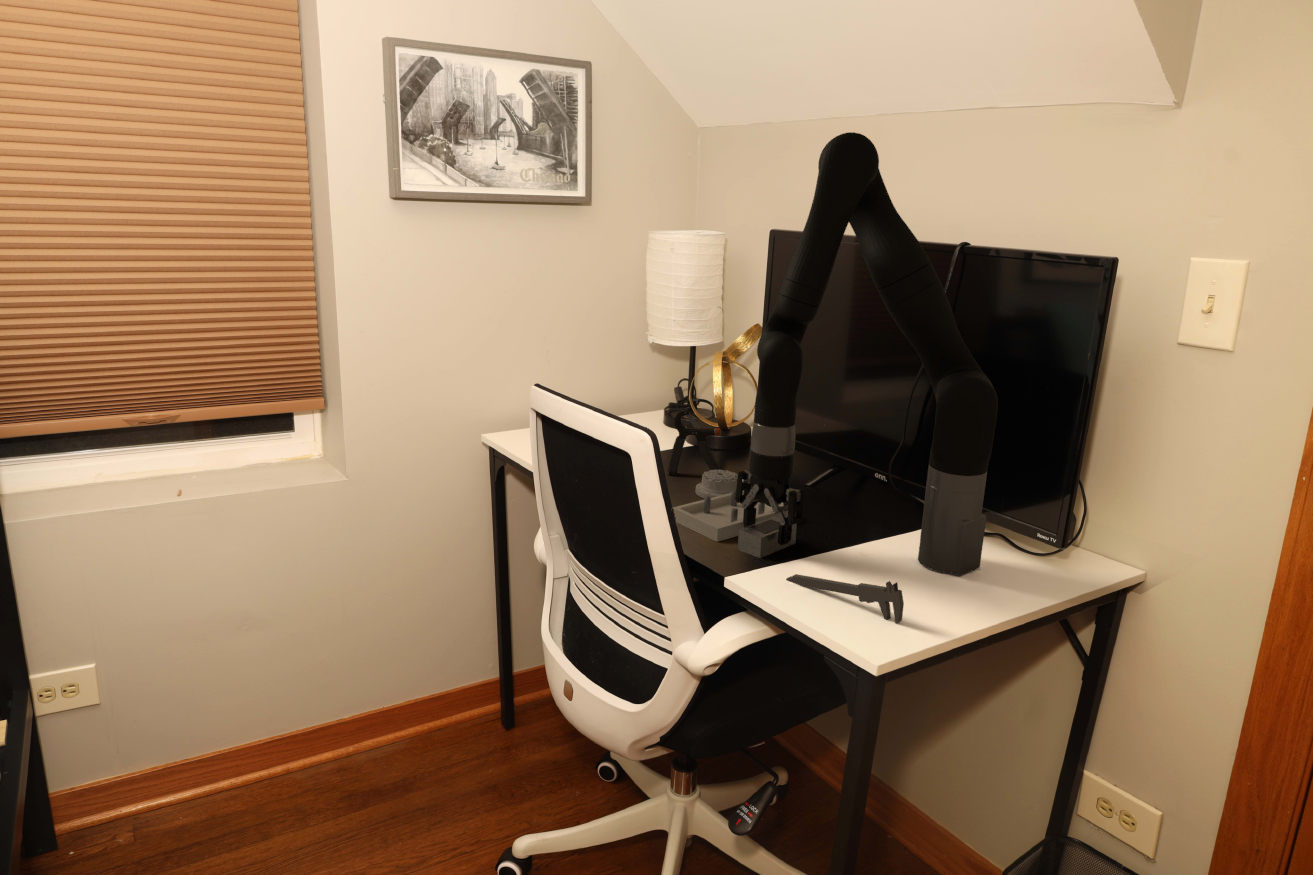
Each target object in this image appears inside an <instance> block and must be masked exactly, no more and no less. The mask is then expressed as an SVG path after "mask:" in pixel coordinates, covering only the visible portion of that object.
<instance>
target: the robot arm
mask: <svg viewBox="0 0 1313 875" xmlns="http://www.w3.org/2000/svg"><path fill="white" fill-rule="evenodd" d="M848 224H849V225H850V227H851V228H852V230H853V233H854V235H855V237H856V240H857V242H858V245H859V249H860V251H861V254H862V257H863V259H864V262H865V263H864V264H865V265H866V267H867V270H868V272H869V274H870V277H871V279H872V282H873V283H874V284H873V285H874V286H875V289H876V290H877V292H878V294H879V297H880V298H881V300H882V302H883V304H884V306H885V308H886V310H887V311H888V313H889V315H890V317H891V318H892V319H893V322H895V324H896V326H897V328H898V329H899V330H900V332H901V333H902V334H903V336H904V337H905V338H906V339H907V341H908V342H909V343H910V345H911V346H912V347H913V348H914V350H915V353H917V355H918V357H919V359H920V361H921V363H922V365H923V367H924V370H925V372H926V375H927V377H928V379H929V382H930V384H931V387H932V391H933V393H934V397H935V402H936V407H935V416H934V425H933V434H932V443H931V447H930V452H929V460H928V467H927V468H928V469H927V475H926V476H927V477H926V483H925V484H926V485H925V494H924V495H925V496H924V503H923V512H922V513H923V514H922V520H921V527H920V528H921V529H920V537H919V546H918V554H917V561H918V562H919V564H921V566H923V567H925V568H927V569H929V570H931V571H935V572H938V573H943V574H950V575H951V574H952V575H955V576H957V577H960V576H964V575H966V574H968V573H970V572H973V571H975V570H978V569H980V567H981V559H982V554H983V546H984V539H985V531H986V524H987V515H986V514H983V505H984V504H983V503H984V500H985V499H984V497H985V489H986V482H987V477H988V476H987V475H988V468H989V463H990V458H991V456H992V451H993V446H994V438H995V433H996V427H997V420H998V412H999V399H998V398H999V397H998V394H997V392H996V390H995V388H994V385H993V383H992V382H991V380H990V379H989V377H988V376H987V375H986V374H985V372H984V371H983V369H982V368H981V366H980V365H979V364H978V362H977V360H976V359H975V358H974V356H973V354H972V352H971V351H970V349H969V348H968V346H967V345H966V343H965V341H964V339H963V336H962V335H961V333H960V331H959V328H958V324H957V323H956V319H955V316H954V312H953V310H952V306H951V304H950V301H949V298H948V295H947V294H946V291H945V288H944V286H943V284H942V282H941V279H940V278H939V275H938V273H937V271H936V269H935V267H934V265H933V264H932V262H931V259H930V258H929V256H928V255H927V253H926V251H925V249H924V248H923V246H922V245H921V243H920V241H919V239H918V238H917V237H916V236H915V234H914V233H913V231H912V230H911V229H910V227H909V226H908V225H907V223H906V222H905V221H904V220H903V218H902V216H901V215H900V214H899V212H898V211H897V209H896V207H895V205H894V203H893V202H892V199H891V197H890V194H889V191H888V189H887V187H886V184H885V182H884V179H883V176H882V174H881V171H880V158H879V153H878V150H877V148H876V146H875V144H874V142H872V141H871V139H870V138H868V137H867V136H866V135H864V134H862V133H859V132H854V131H852V132H844V133H840V134H839V135H836V136H834V137H833V138H832V139H830V140H829V141H828V142H827V143H826V144H825V146H824V147H823V149H822V150H821V152H820V155H819V159H818V173H817V179H816V185H815V190H814V194H813V199H812V203H811V207H810V210H809V214H808V216H807V219H806V223H805V224H804V228H803V230H802V233H801V235H800V238H799V241H798V243H797V245H796V248H795V250H794V252H793V255H792V257H791V258H790V262H789V264H788V267H787V269H786V272H785V275H784V278H783V280H782V283H781V284H780V285H781V286H780V289H779V292H778V294H777V297H776V301H775V304H774V308H773V309H772V312H771V313H770V315H769V318H768V319H767V322H766V324H765V326H764V328H763V330H762V332H761V335H760V338H759V340H758V345H757V348H756V349H757V350H756V356H757V358H758V361H759V382H758V384H759V386H758V390H757V393H756V396H755V399H754V400H755V401H754V414H753V415H754V416H753V425H752V430H751V435H750V436H751V437H750V451H749V452H750V453H749V466H748V469H744V470H741V471H738V473H737V474H738V479H737V488H736V497H735V500H736V502H737V503H739V502H740V503H741V504H742V507H743V508H744V514H743V524H744V527H747V526H750V525H752V524H755V522H756V508H754V506H756V505H757V504H758V502H760V503H765V504H766V505H767V506H770V507H772V510H773V512H774V513H775V514H777V517H778V519H779V522H780V524H779V532H778V544H780V545H784V544H787V543H789V541H790V540H791V533H792V525H793V524H799V523H802V522H803V521H804V520H803V519H804V496H805V495H804V494H805V493H804V492H805V491H804V489H803V488H798V489H795V488H793V487H792V488H791V486H790V479H791V477H792V475H793V473H794V463H795V462H794V461H795V448H796V417H797V406H798V405H797V403H798V402H797V401H798V400H797V398H798V396H797V395H798V392H799V388H800V383H801V378H802V371H803V366H804V365H803V364H804V363H803V362H804V354H803V353H804V352H803V349H802V346H801V344H802V341H803V339H804V336H805V333H806V331H807V329H808V326H809V324H810V323H811V322H812V321H814V319H815V318H816V316H817V313H818V311H819V309H820V306H821V304H822V301H823V298H824V296H825V294H826V293H825V292H826V291H827V288H828V286H829V282H830V279H831V276H832V273H833V270H834V266H835V263H836V261H837V260H836V259H837V255H838V252H839V249H840V246H841V243H842V240H843V238H844V236H845V232H846V230H847V227H848ZM743 490H744V494H743V495H742V493H743ZM750 490H751V491H750ZM782 502H783V505H784V506H781V507H780V506H778V505H780V504H781V503H782ZM783 512H785V514H786V517H785V516H784V513H783Z"/></svg>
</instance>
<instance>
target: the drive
mask: <svg viewBox="0 0 1313 875" xmlns="http://www.w3.org/2000/svg"><path fill="white" fill-rule="evenodd" d="M779 524H780V522H779V519H778V517H775V516H774V517H771V518H768V519H766V520H763V521H760V522H758V523H755V524H752V525H750V526H747V527H744V528H742V529H739V536H737V537H738V539H737V542H738V543H737V551H740V552H742V553H745V554H747V555H748V554H749V555H750V556H753V557H756V558H758V559H762V558H764V557H767V556H769V555H772V554H774V553H776V552H778V551H781V550H783V549H785V548H788V547H790V546H793V545H795V544H796V540H797V538H796V537H797V526H798V525H797V524H798V523H797V524H793V525H792V533H791V540H790V541H789V543H787V544H784V545H780V544H778V532H779Z"/></svg>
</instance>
